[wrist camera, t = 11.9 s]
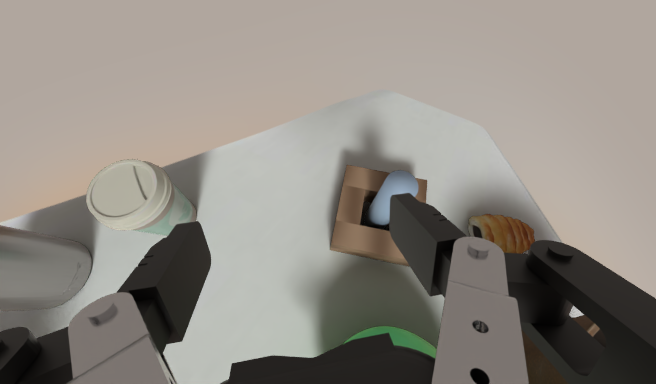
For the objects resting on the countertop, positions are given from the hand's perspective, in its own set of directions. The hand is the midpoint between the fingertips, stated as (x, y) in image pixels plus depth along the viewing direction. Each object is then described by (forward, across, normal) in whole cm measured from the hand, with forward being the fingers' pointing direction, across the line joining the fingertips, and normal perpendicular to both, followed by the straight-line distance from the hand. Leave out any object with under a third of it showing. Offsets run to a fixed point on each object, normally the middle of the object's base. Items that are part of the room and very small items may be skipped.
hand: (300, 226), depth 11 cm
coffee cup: (+28, +19, +13) cm, 37 cm away
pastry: (+20, -29, +20) cm, 40 cm away
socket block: (+24, -11, +16) cm, 31 cm away
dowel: (+24, -11, +16) cm, 31 cm away
